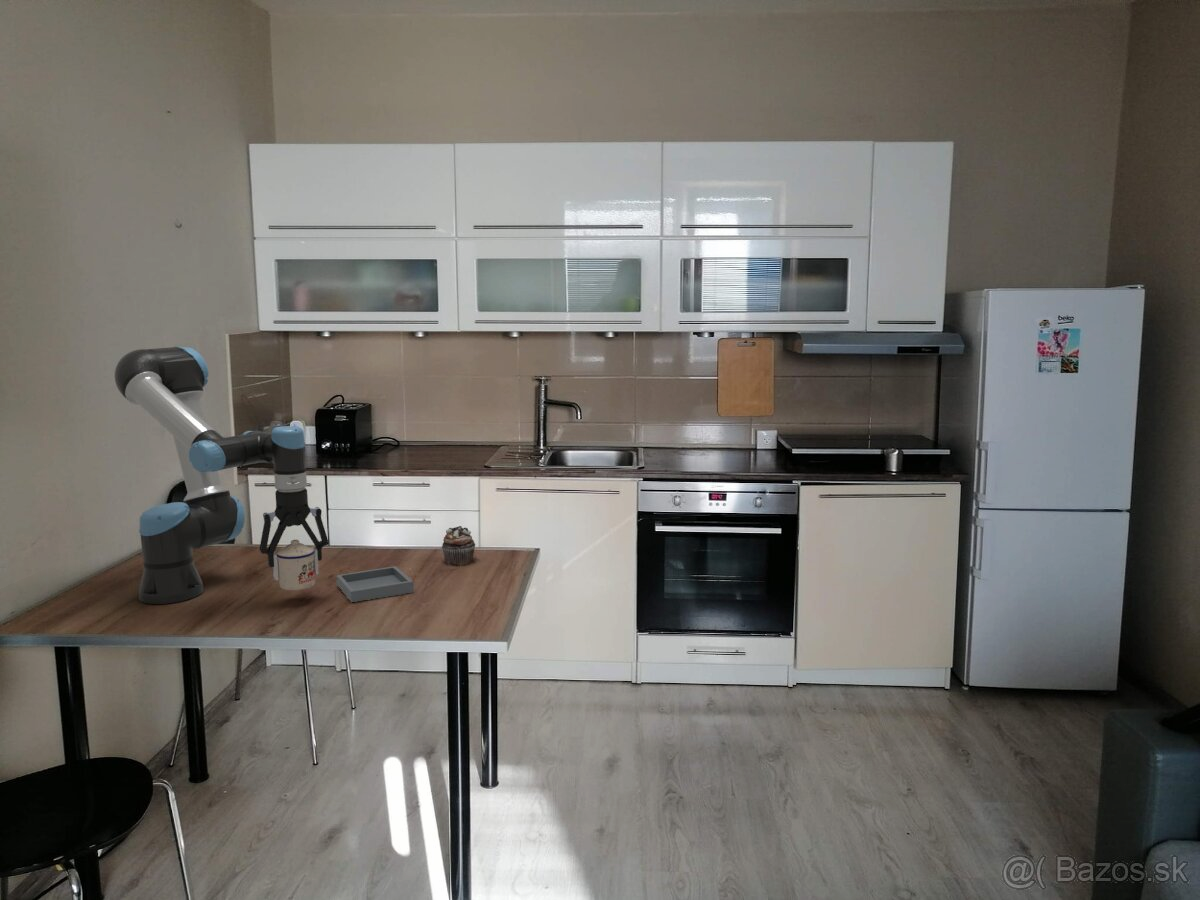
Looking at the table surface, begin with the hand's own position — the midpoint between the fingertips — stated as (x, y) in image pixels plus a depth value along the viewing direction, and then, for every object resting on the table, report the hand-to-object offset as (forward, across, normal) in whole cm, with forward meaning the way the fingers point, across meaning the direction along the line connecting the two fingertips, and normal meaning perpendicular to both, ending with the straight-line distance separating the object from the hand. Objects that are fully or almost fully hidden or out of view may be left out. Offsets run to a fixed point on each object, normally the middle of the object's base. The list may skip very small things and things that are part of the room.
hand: (296, 575), depth 228 cm
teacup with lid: (+2, +1, 0) cm, 2 cm away
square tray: (+6, +19, -2) cm, 20 cm away
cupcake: (+6, +47, +11) cm, 49 cm away
